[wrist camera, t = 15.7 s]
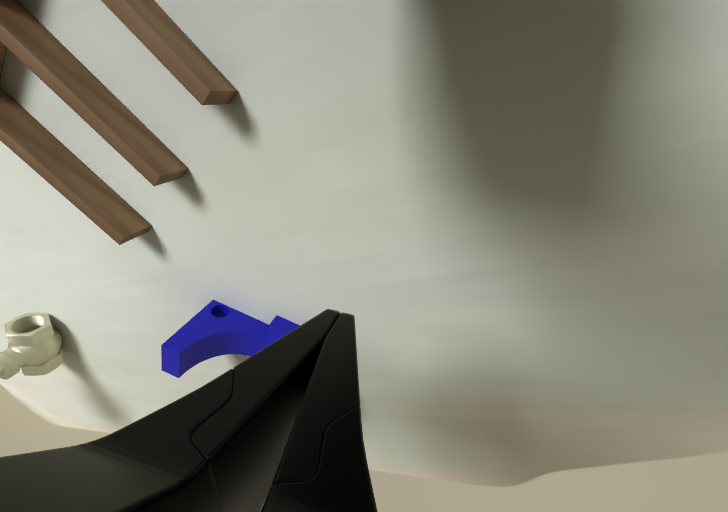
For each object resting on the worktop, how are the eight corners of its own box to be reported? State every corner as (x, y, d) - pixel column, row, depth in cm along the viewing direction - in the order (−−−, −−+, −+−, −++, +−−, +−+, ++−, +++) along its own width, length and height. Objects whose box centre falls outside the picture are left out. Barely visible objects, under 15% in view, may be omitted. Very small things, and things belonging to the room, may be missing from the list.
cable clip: (341, 342, 27) (314, 402, 22) (327, 374, 29) (300, 435, 24) (215, 286, 27) (161, 331, 22) (212, 321, 30) (161, 370, 25)
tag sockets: (-71, -243, 15) (-157, -297, 13) (237, 90, 19) (210, 90, 17) (-79, 28, 22) (-135, 22, 20) (146, 232, 26) (119, 244, 24)
